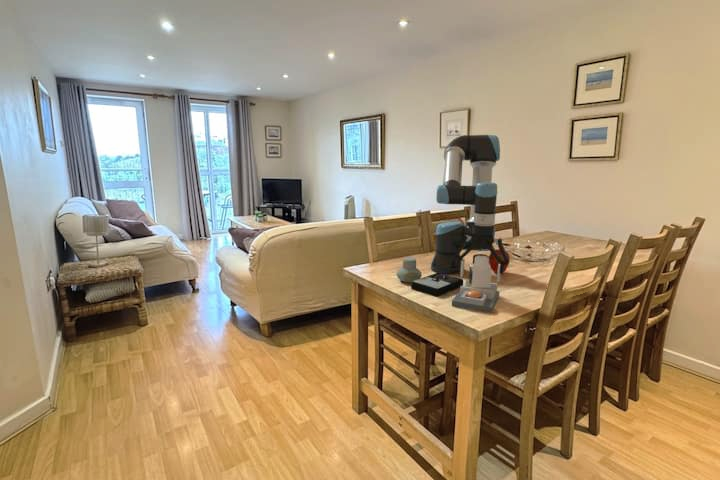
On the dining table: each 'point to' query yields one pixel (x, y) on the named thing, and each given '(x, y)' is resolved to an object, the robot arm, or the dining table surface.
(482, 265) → the medicine bottle
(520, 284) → the dining table surface
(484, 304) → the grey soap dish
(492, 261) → the apple
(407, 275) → the air freshener
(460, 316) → the dining table surface
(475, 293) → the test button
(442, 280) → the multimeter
